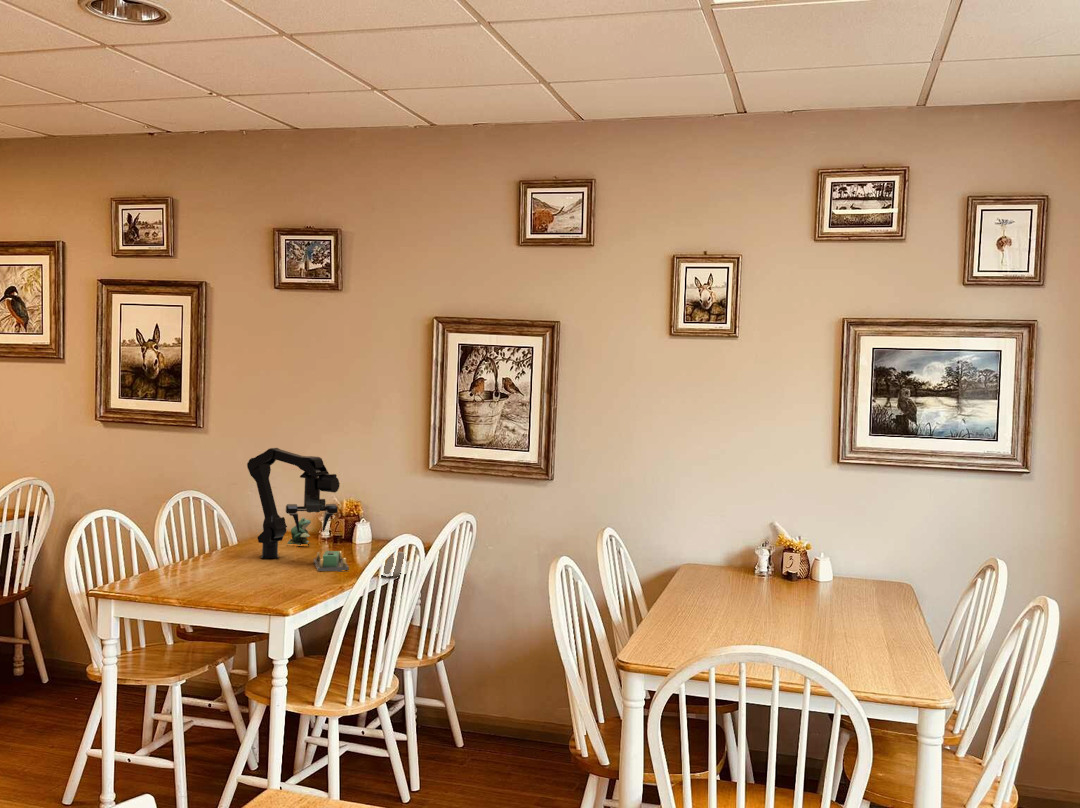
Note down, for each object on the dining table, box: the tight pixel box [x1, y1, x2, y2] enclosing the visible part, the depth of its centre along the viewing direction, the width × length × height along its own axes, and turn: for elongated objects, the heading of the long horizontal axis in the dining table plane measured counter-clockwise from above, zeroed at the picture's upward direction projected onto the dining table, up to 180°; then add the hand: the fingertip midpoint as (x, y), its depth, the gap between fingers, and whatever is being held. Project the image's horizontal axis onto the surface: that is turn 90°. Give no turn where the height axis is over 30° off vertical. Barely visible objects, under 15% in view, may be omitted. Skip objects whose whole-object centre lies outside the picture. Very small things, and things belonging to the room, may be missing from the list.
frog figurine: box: [286, 517, 312, 545], centre depth 399 cm, size 18×18×12 cm
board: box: [322, 550, 340, 566], centre depth 359 cm, size 10×5×4 cm, turn 7°
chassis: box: [313, 550, 350, 572], centre depth 359 cm, size 17×11×4 cm, turn 18°
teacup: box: [374, 551, 405, 578], centre depth 350 cm, size 14×11×8 cm
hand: (310, 531), depth 364 cm, fingers open, 9 cm apart
